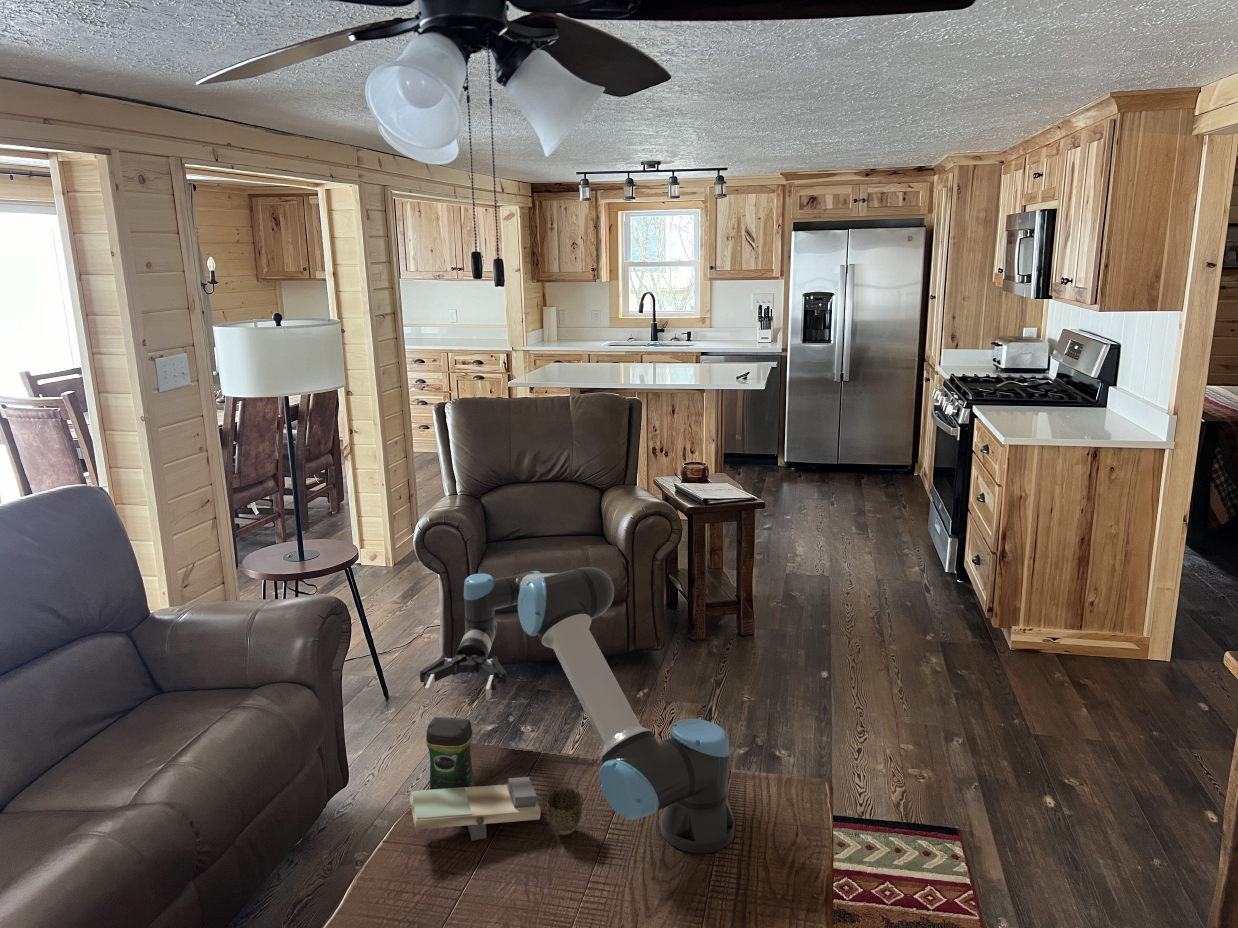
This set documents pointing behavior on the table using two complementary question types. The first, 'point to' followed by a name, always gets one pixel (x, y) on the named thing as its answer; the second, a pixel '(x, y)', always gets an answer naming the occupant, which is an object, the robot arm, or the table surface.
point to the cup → (564, 810)
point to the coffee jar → (450, 753)
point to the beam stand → (477, 831)
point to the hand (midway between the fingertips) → (456, 693)
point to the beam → (475, 805)
